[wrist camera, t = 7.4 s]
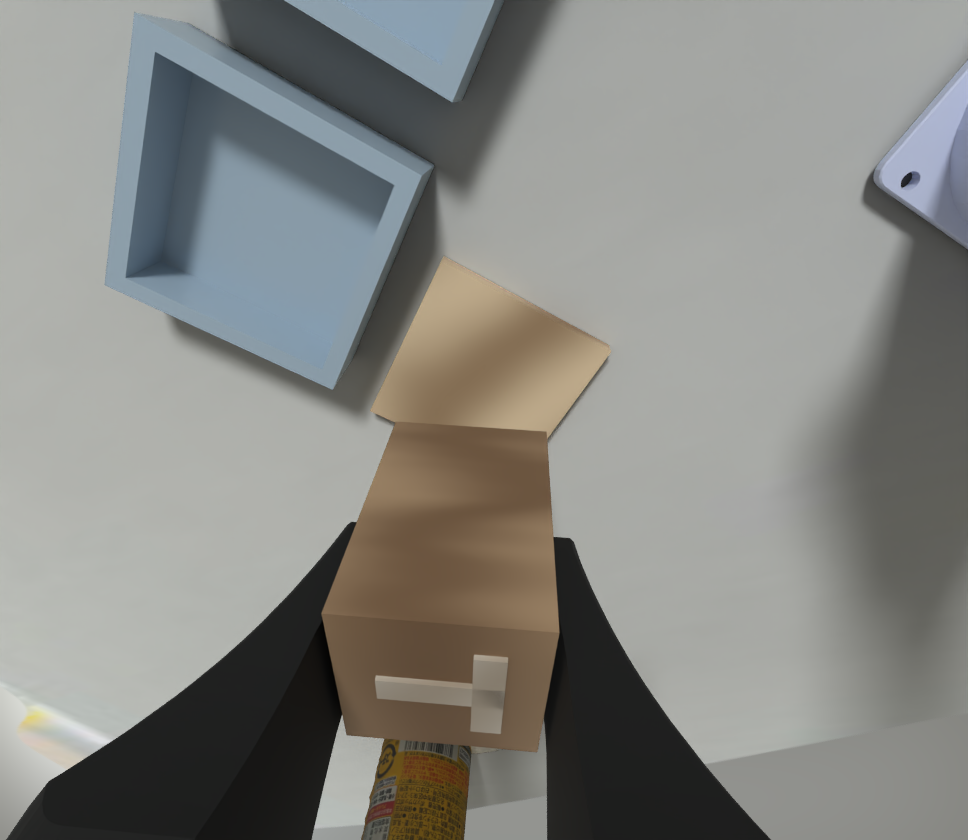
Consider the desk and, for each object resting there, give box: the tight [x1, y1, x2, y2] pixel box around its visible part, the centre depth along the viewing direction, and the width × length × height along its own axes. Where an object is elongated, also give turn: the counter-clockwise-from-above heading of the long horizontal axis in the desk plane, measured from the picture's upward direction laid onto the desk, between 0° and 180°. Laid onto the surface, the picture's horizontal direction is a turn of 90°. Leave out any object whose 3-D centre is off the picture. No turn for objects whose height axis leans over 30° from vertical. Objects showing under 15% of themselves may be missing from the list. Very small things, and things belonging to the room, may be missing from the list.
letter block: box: [321, 421, 559, 752], centre depth 12 cm, size 4×4×6 cm
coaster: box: [370, 257, 611, 439], centre depth 21 cm, size 7×7×1 cm
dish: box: [105, 12, 435, 390], centre depth 17 cm, size 8×8×2 cm
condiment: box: [361, 739, 498, 840], centre depth 31 cm, size 7×8×12 cm
